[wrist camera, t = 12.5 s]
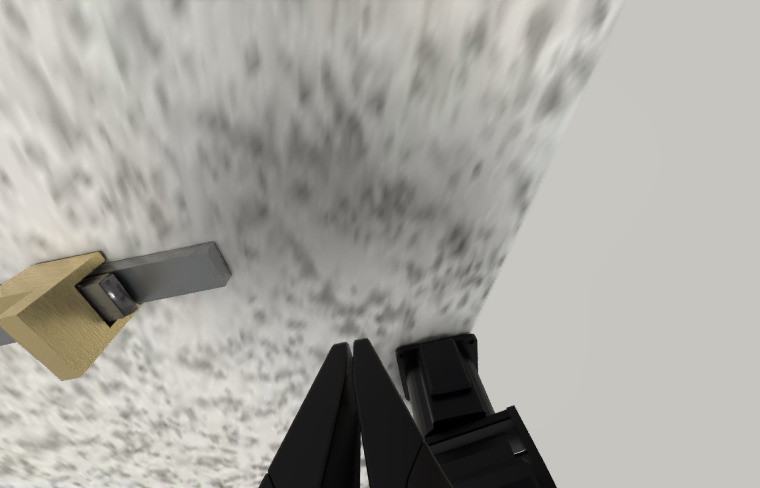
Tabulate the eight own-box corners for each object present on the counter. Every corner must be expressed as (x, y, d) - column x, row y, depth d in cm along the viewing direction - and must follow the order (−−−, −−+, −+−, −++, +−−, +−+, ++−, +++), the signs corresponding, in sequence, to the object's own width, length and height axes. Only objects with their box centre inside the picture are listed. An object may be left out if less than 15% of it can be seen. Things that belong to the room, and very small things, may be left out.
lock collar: (98, 251, 18) (15, 315, 14) (140, 306, 20) (81, 377, 16) (31, 265, 18) (-74, 333, 14) (80, 318, 20) (3, 392, 16)
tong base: (211, 236, 19) (203, 247, 17) (233, 279, 20) (227, 290, 19) (-124, 304, 19) (-152, 318, 18) (-75, 341, 20) (-98, 355, 19)
